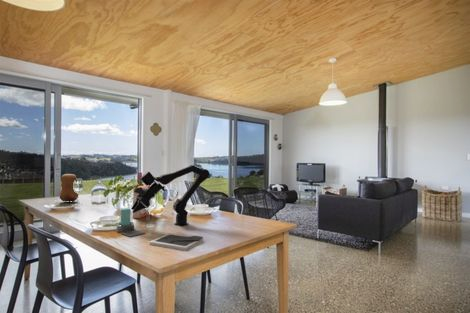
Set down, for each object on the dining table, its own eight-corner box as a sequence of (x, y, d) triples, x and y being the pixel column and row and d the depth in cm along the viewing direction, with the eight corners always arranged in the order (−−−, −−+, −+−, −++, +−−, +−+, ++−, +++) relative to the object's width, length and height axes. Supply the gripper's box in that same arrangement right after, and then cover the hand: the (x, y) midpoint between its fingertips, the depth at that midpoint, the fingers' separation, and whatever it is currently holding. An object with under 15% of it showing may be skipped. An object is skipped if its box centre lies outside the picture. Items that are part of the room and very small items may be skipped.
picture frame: (203, 242, 142) (169, 237, 150) (203, 237, 142) (169, 231, 150) (185, 252, 127) (149, 245, 135) (185, 246, 127) (149, 239, 135)
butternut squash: (73, 200, 254) (73, 173, 254) (80, 202, 247) (81, 173, 246) (56, 202, 243) (57, 173, 243) (63, 204, 235) (64, 174, 235)
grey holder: (132, 226, 167) (132, 221, 167) (134, 230, 159) (134, 225, 159) (116, 228, 163) (116, 223, 163) (117, 232, 155) (117, 226, 155)
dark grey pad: (145, 233, 153) (145, 232, 153) (130, 237, 146) (130, 236, 146) (135, 230, 158) (135, 229, 158) (120, 234, 151) (120, 233, 151)
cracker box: (140, 218, 188) (140, 187, 188) (132, 218, 189) (132, 187, 189) (150, 214, 202) (151, 185, 201) (143, 214, 203) (143, 185, 203)
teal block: (129, 228, 164) (129, 207, 164) (130, 230, 160) (130, 209, 160) (120, 228, 162) (120, 208, 162) (120, 230, 158) (121, 209, 158)
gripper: (140, 180, 173) (121, 198, 168) (144, 183, 156) (122, 204, 152) (153, 192, 176) (134, 211, 172) (158, 196, 159) (137, 217, 155)
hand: (132, 210), depth 162 cm, fingers open, 9 cm apart
